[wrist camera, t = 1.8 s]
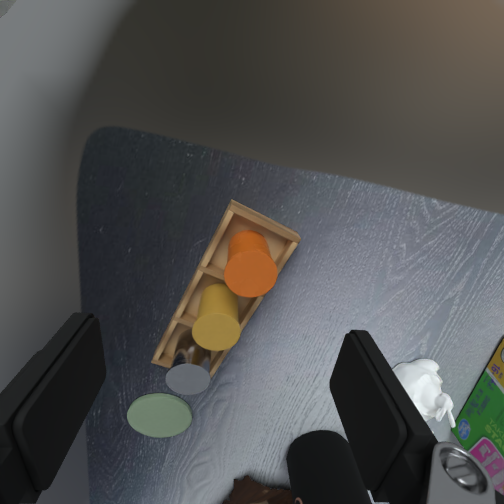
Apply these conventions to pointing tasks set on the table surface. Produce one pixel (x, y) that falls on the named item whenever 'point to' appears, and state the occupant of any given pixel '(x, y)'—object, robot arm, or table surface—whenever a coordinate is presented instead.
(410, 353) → the table surface
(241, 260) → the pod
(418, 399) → the rabbit figurine
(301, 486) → the coffee jar
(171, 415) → the coaster
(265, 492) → the potted plant
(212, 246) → the pod holder
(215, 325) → the cylinder
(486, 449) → the game box
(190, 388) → the disc
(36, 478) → the robot arm
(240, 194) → the table surface
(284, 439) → the table surface
